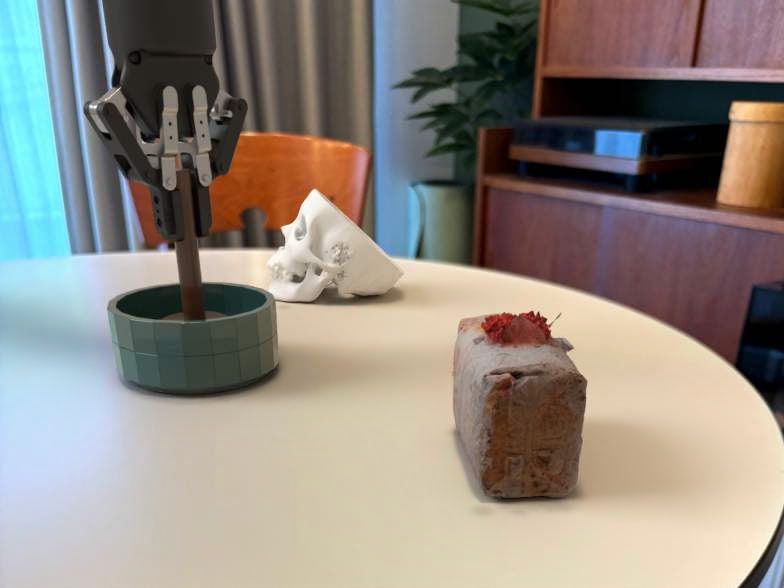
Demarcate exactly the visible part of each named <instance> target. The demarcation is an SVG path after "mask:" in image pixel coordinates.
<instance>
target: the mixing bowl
mask: <svg viewBox="0 0 784 588" xmlns="http://www.w3.org/2000/svg"><path fill="white" fill-rule="evenodd" d="M202 286H203V295H204V304H205V311H212V312H218V313H222V314H225V315H227V316H228V317H221V318H214V319H207V320H188V321H175V320H162V319H163V318H164V317H166V316H169V315H172V314H176V313H181V312H183V308H182V300H181V291H180V283H179V282H172V283H163V284H155V285H150V286H145V287H140V288H135V289H131V290H128V291H125V292H123V293H120V294H118V295H116V296H115V297H113V298H112V299H110V300H109V301H108V302H107V306H106V312H107V318H108V323H109V329H110V335H111V341H112V348H113V354H114V360H115V366H116V371H117V372H118V373H119V374H120V375H121V376H122V377H123V378H124V379H126V380H128V381H131V382H133V383H134V384H135V385H137V386H138V387H141V388H143V389H146V390H149V391H153V392H158V393H164V394H165V393H166V394H175V395H201V394H211V393H219V392H226V391H230V390H235V389H239V388H242V387H246V386H249V385H251V384H253V383H256V382H258V381H259V380H261V379H263V378H265V376H266V375H267V373H269V372H270V371H272V370H274V369H275V368H276V366H277V364H279V362H280V351H279V350H280V348H279V335H278V333H279V332H278V319H277V318H278V317H277V302H276V301H277V300H276V299H275V298H274V296H273V294H272V293H270V292H268V290H266V289H264V288H262V287H257V286H253V285H249V284H243V283H237V282H236V283H234V282H225V281H202Z"/></svg>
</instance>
